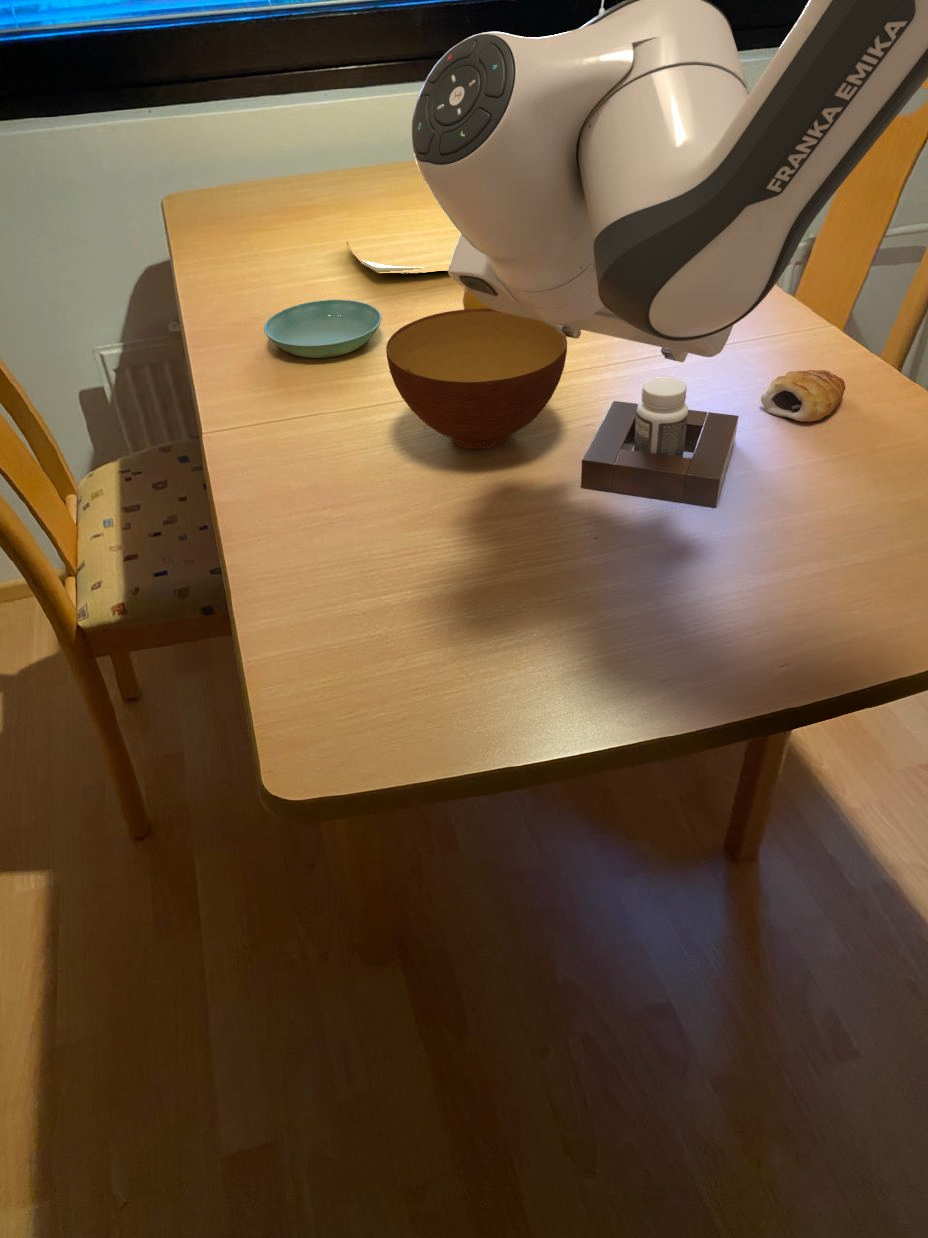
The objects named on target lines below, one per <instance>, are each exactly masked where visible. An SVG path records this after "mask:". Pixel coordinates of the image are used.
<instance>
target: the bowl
mask: <svg viewBox="0 0 928 1238" xmlns="http://www.w3.org/2000/svg"><path fill="white" fill-rule="evenodd" d="M385 350H386V352H385V353H386V359H387V364H388V370H389V373H390V375H391V378H392V380H393V383H394V386H395V388H396V390H397V391H398V393H399V395H400V397H401V398H402V399H403V401H404V402H405V404H406V405H407V406H408V407H409V409H410V410H411V412H412V413H414V414H415V415H416V416H417V417H418V418H419V419H420V420H421V421H422V422H423V423H424V424H426V425H427V426H429V428H431V429H432V430H434V431H436V432H437V433H439V434H440V435H443V436H445V437H448V438H450V439H451V440H452V442H453V443H454V444H456V445H458V446H459V447H462V448H465V449H473V450H483V449H490V448H495V447H497V446H500V445H501V444H503V443H505V442H506V440H508V438H509V437H510V436H511V435H513V434H515V433H517V432H519V431H521V430H522V429H524V428H525V427H527V426H528V425H529V424H531V423H532V422H533V421H534V420H535V419H536V418H538V416H539V415H540V414H541V412H543V410H544V409H545V407H546V406H547V404H548V403H549V402H550V400H551V399H552V397H553V395H554V394H555V392H556V391H557V390H556V389H557V387H558V385H559V384H560V381H561V379H562V375H563V371H564V370H565V366H566V365H565V364H566V358H567V353H568V339H567V337H566V336H562V335H561V334H560V333H559V332H558V331H557V329H556V328H554V327H552V326H550V325H548V324H546V323H544V322H542V321H539V320H534V319H530V318H525V317H521V316H516V315H511V314H507V313H501V312H498V311H495V310H493V309H465V310H464V309H457V310H451V311H445V312H439V313H435V314H431V315H427V316H425V317H421V318H419V319H416V320H413V321H412V322H409V323H407V324H405V325H403V326H402V327H400V328H399V329H397V330H396V331H395V332H394V333H393V334H392V335H391V337H390V338H389V339H388V340H387V344H386V348H385Z"/></svg>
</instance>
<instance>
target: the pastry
mask: <svg viewBox="0 0 928 1238" xmlns="http://www.w3.org/2000/svg"><path fill="white" fill-rule="evenodd" d="M845 390H846V384H845V380H844V379H843V378H842V377H840V376H837V374H834V373H832V372H831V371H829V370H826V369H807V370H795V371H794V370H790V371H787V372H786V373H785V374H784V375H779V376H777V377H776V378H775V379H773V381H771V383H770V385H769V388H767V390H766V391H765V393H764V394H762V395H761V396H760V403H761V405H762V406H763V410H764V411H765V412H766V413H769V414H771V415H774V416H777V417H781V418H789V419H791V420H794V421H796V422H802V423H803V422H808V423H812V422H817V421H820V420H822V419H823V418H824V417H826V416H829V415H830V414H832V413H833V411H834V410H835V409H836V408H837V406H838V405H839V403H840V402H841V400H842V399H843V397H844V393H845Z"/></svg>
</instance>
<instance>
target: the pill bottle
mask: <svg viewBox="0 0 928 1238" xmlns="http://www.w3.org/2000/svg"><path fill="white" fill-rule="evenodd" d="M687 388H688V387H687V383H686V382H684V381H683V380H682V379H679V378H676V377H673V376H656V377H652V378H649V379H646V380H645V381H644V382H643V384H642V389H641V401H640V402H638V403H637V404H638V407H637V413H636V427H635V440H634V444H633V451H639V452H647V453H654V454H662V455H669V456H677V457H684V452H685V451H684V444H685V436H686V426H687V417H688V410H689V408H688V405H687V403H686V399H687V390H688V389H687Z"/></svg>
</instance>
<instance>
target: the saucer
mask: <svg viewBox="0 0 928 1238" xmlns="http://www.w3.org/2000/svg"><path fill="white" fill-rule="evenodd" d="M328 315H331V316H328ZM338 315H339V316H338ZM340 315H341V316H340ZM382 320H383V317H382V313H381V311H380V310H379V309H377V308H376V307H375V306H374V305H371V304H369V303H366V302H362V301H358V300H351V299H322V300H321V299H320V300H315V301H308V302H304V303H300V304H296V305H293V306H289V307H287V308H285V309H282V310H281V311H278V312H277V313H275V314H273V315H272V316H271V317H269V318H268V319H267V321H265V323H264V326H263V332H264V334H265V335H266V336H267V338H268V339H269V340H270V341H271V342H272V343H273V344H275V346H277V347H279V348H280V349H282V350H283V351H285V352H287V353H288V354H291V355H293V356H297V357H300V358H305V359H306V358H307V359H325V358H334V357H339V356H342V355H346V354H350V353H351V352H353V351H356V350H359V349H360V348H361V347H362V346H364V345H365V344H366V343H367V342H368V341H369V340H370V339H371V338H372V337H373V336H374V334H375V333H376V332H377V330H378V328H379V327H380V325H381V323H382Z"/></svg>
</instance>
